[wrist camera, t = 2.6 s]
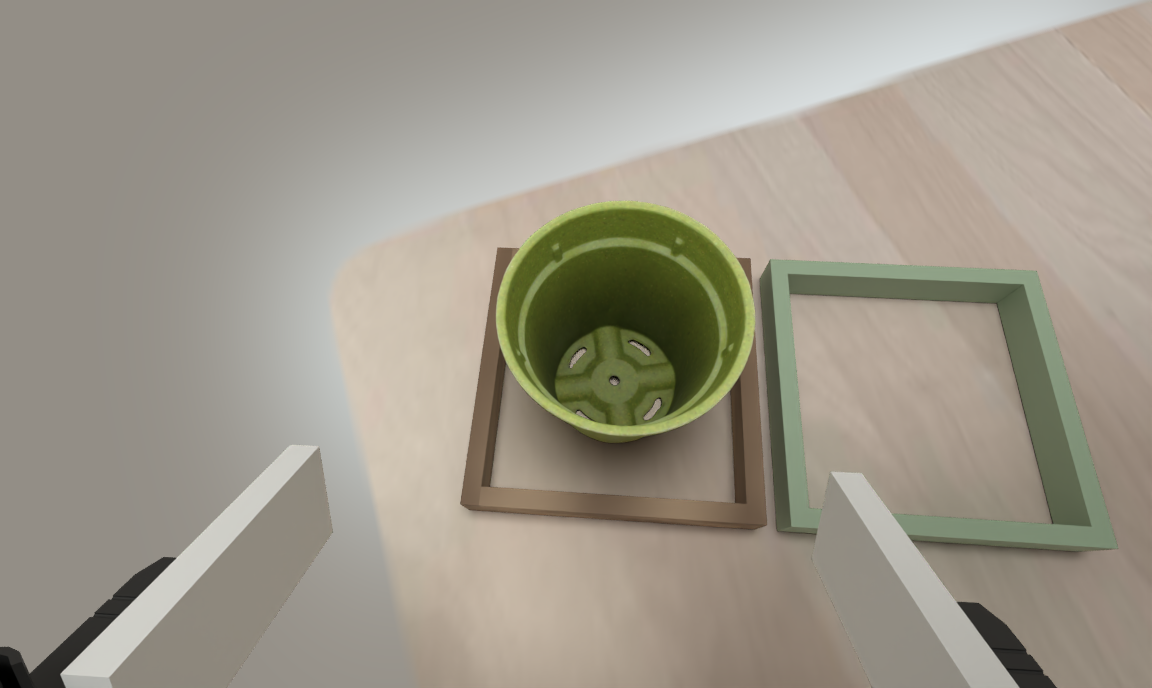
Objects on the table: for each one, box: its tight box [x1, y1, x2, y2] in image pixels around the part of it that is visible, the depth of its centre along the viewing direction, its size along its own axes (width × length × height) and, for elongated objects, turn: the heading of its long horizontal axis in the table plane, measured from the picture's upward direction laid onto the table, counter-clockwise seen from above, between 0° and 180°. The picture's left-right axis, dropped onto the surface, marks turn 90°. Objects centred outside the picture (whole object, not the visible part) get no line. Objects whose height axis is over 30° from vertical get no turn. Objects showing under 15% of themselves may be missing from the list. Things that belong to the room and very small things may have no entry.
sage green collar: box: [760, 259, 1118, 552], centre depth 27 cm, size 13×13×2 cm
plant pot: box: [496, 201, 755, 443], centre depth 24 cm, size 9×9×9 cm
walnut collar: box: [460, 248, 767, 529], centre depth 27 cm, size 13×13×2 cm
